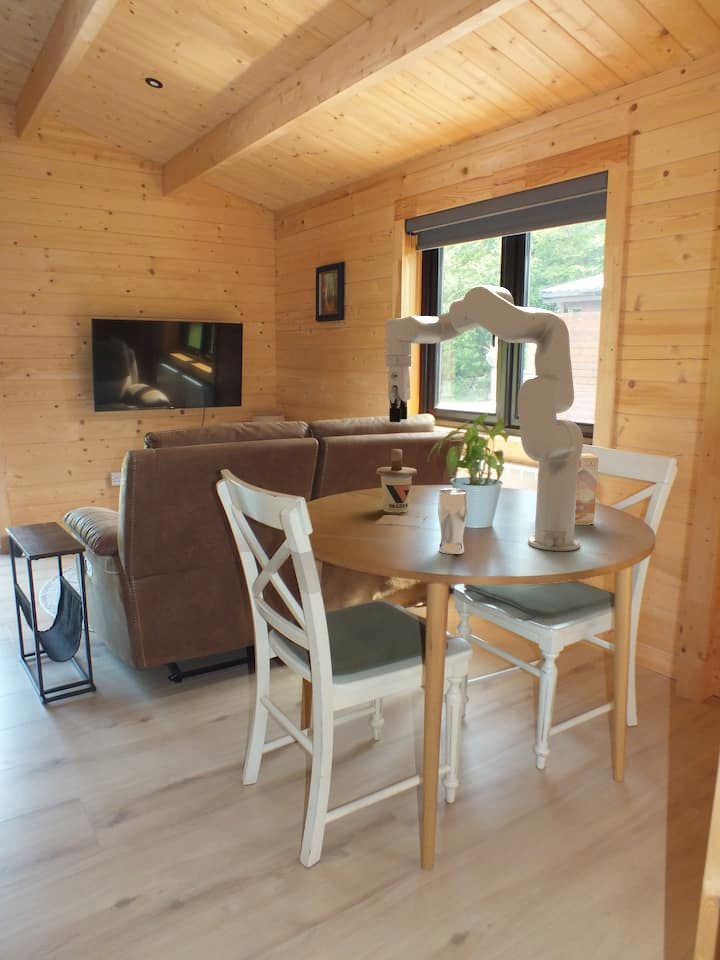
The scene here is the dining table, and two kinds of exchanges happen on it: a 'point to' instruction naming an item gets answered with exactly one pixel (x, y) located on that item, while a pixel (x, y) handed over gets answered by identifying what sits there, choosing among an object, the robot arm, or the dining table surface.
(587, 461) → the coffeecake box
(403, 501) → the coffee cup
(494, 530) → the dining table surface
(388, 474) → the lid
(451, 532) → the beer glass
